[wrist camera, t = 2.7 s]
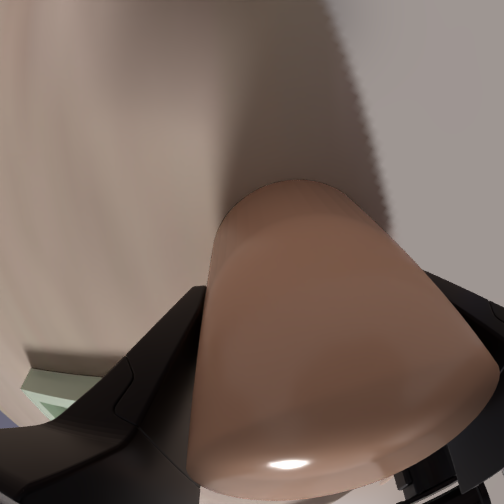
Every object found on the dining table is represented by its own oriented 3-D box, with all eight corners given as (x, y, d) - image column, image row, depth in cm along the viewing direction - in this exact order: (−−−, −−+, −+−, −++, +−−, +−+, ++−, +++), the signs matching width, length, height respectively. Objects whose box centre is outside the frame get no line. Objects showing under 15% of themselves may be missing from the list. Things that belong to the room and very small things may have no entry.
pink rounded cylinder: (375, 175, 8) (547, 309, 2) (362, 311, 11) (430, 463, 5) (198, 190, 8) (119, 400, 2) (225, 328, 11) (222, 505, 5)
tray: (211, 378, 13) (209, 409, 11) (242, 460, 18) (243, 479, 17) (30, 368, 13) (20, 388, 11) (110, 451, 18) (106, 467, 17)
